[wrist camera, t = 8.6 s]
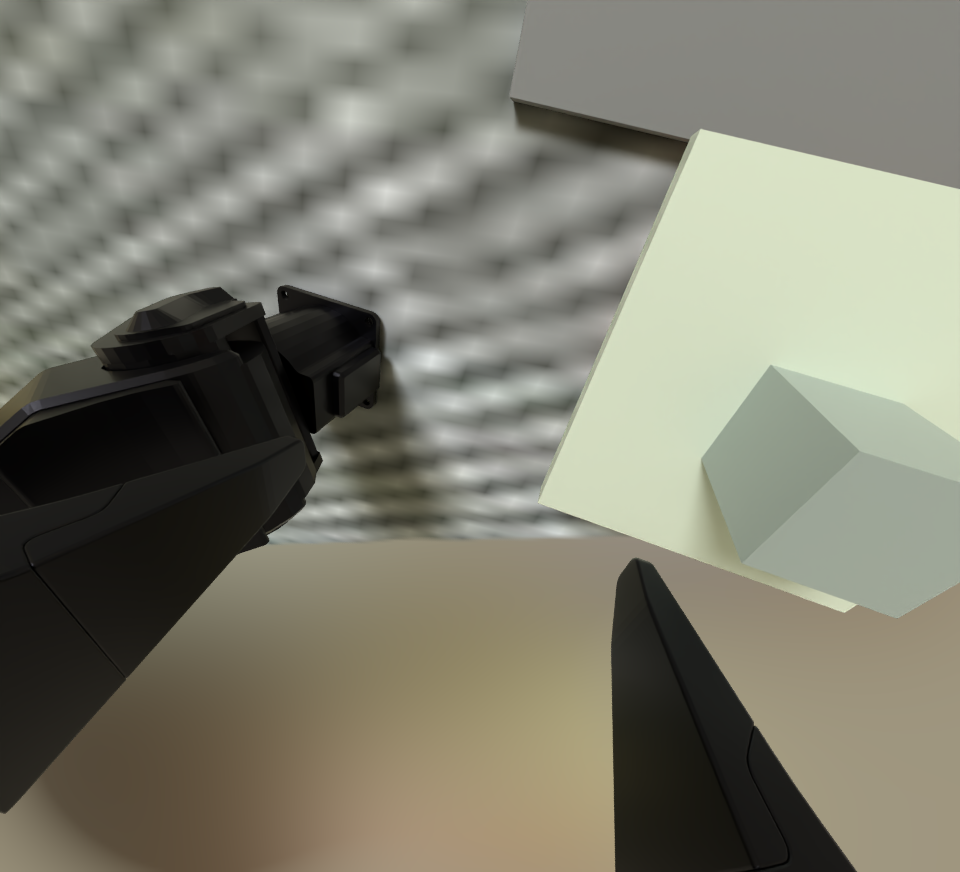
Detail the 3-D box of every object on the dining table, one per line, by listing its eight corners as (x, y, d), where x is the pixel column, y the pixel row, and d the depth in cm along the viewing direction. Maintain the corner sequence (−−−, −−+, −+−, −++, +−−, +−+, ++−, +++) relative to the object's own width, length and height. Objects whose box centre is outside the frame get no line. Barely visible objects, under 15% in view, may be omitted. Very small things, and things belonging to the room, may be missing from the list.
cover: (541, 487, 18) (518, 594, 13) (691, 135, 10) (776, 73, 5) (830, 589, 17) (926, 752, 12) (1271, 272, 9) (2155, 366, 4)
